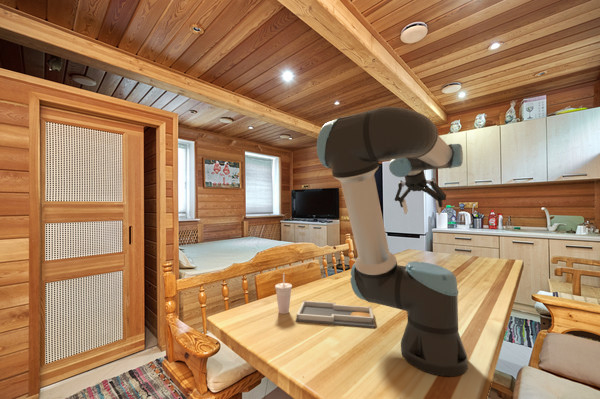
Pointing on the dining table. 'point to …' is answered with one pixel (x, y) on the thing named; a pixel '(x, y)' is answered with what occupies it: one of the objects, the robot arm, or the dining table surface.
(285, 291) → the smoothie
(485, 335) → the dining table surface
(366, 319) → the keyhole plate
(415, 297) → the robot arm
